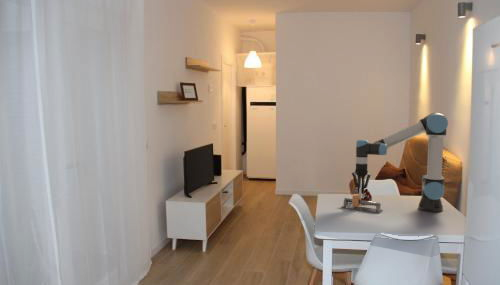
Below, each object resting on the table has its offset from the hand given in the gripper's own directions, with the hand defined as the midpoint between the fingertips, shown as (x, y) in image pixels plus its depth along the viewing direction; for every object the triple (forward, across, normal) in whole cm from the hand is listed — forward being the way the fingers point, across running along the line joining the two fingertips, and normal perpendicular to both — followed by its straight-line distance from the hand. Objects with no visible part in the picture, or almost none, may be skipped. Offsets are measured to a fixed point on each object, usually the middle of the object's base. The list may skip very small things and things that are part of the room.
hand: (360, 198), depth 291 cm
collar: (+6, +3, 0) cm, 6 cm away
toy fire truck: (+8, +5, -18) cm, 20 cm away
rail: (+8, -1, 0) cm, 8 cm away
